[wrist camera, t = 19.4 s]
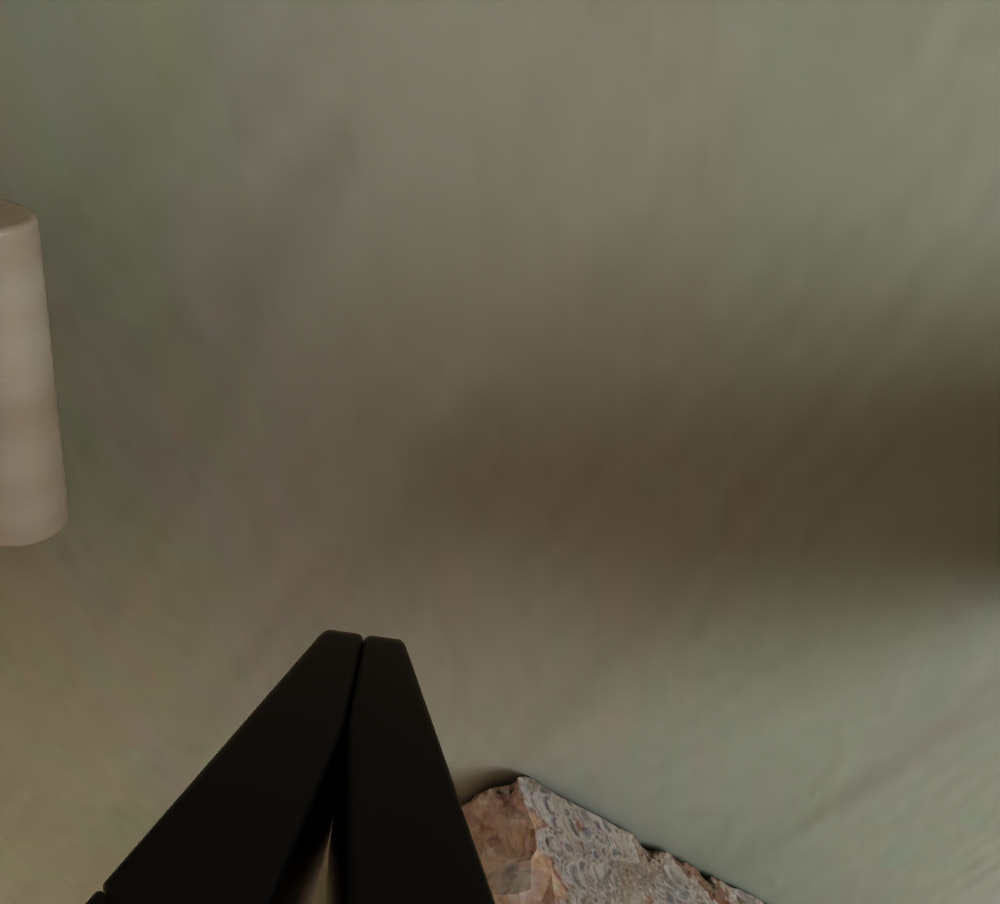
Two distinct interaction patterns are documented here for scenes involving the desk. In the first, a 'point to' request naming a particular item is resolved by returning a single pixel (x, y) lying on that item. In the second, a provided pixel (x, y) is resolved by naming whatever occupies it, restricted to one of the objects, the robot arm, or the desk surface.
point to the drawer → (27, 390)
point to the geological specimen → (576, 855)
